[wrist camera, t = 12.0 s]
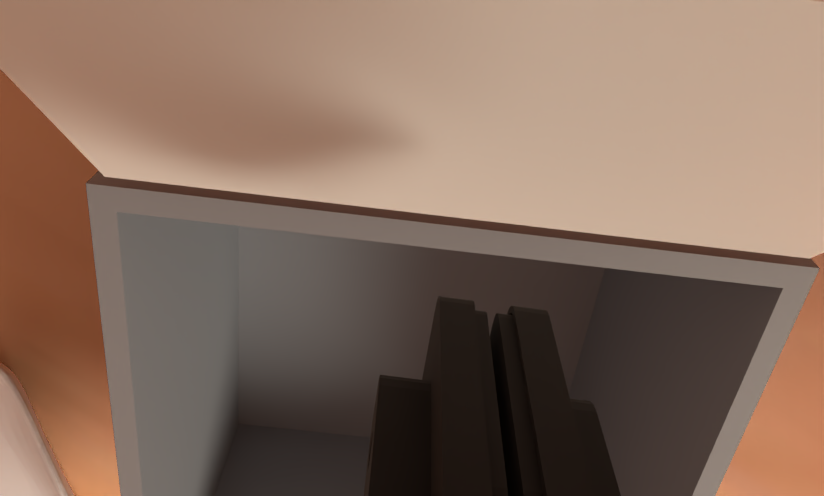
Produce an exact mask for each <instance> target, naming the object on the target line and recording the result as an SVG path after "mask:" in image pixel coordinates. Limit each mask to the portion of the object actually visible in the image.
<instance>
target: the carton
mask: <svg viewBox="0 0 824 496" xmlns="http://www.w3.org/2000/svg"><path fill="white" fill-rule="evenodd" d="M86 190H87V199H88V208H89V217H90V225H91V234H92V243H93V252H94V261H95V270H96V279H97V288H98V297H99V306H100V315H101V323H102V332H103V341H104V350H105V359H106V368H107V377H108V386H109V395H110V404H111V412H112V421H113V430H114V439H115V448H116V457H117V466H118V475H119V484H120V493H121V496H364V488H365V479H366V469H367V460H368V452H369V444H370V436H371V428H372V421H373V414H374V407H375V400H376V394H377V387H378V381H379V376H380V375H387V376H395V377H403V378H411V379H419V380H422V377H423V372H424V366H425V361H426V355H427V350H428V345H429V339H430V334H431V329H432V323H433V318H434V312H435V307H436V302H437V299H438V297H439V296H442V297H450V298H458V299H465V300H473V301H474V303H475V310H477V311H485V312H487V317H488V325H489V334H490V333H491V329H492V324H493V320H494V317H495V315H496V313H500V314H507V312H508V310H509V308H510V307H511V306H519V307H527V308H534V309H542V310H546V311H548V314H549V317H550V321H551V325H552V329H553V333H554V337H555V341H556V345H557V349H558V353H559V357H560V361H561V365H562V369H563V373H564V377H565V381H566V385H567V389H568V393H569V397H570V398H571V399H579V400H587V401H590V402H591V403H593V404H594V407H595V409H596V411H597V415H598V418H599V422H600V425H601V428H602V432H603V435H604V439H605V442H606V446H607V449H608V453H609V456H610V459H611V463H612V466H613V470H614V473H615V477H616V480H617V484H618V487H619V490H620V494H621V496H715V495H716V493H717V490H718V488H719V486H720V484H721V482H722V479H723V477H724V475H725V473H726V471H727V469H728V466H729V464H730V462H731V460H732V458H733V456H734V453H735V451H736V449H737V447H738V445H739V443H740V440H741V438H742V436H743V434H744V432H745V430H746V427H747V425H748V423H749V421H750V419H751V416H752V414H753V412H754V410H755V408H756V406H757V403H758V401H759V399H760V397H761V395H762V393H763V390H764V388H765V386H766V384H767V382H768V380H769V377H770V375H771V373H772V371H773V369H774V367H775V364H776V362H777V360H778V358H779V356H780V354H781V351H782V349H783V347H784V345H785V343H786V340H787V338H788V336H789V334H790V332H791V330H792V327H793V325H794V323H795V321H796V319H797V317H798V314H799V312H800V310H801V308H802V306H803V304H804V301H805V299H806V297H807V295H808V293H809V291H810V288H811V286H812V284H813V282H814V280H815V277H816V275H817V273H818V271H819V269H820V268H819V267H818V266H817V265H816V264H815V263H814V262H813V261H812V259H811V258H810V259H809V258H800V257H791V256H783V255H774V254H766V253H757V252H748V251H740V250H731V249H722V248H714V247H705V246H697V245H688V244H679V243H671V242H662V241H654V240H645V239H636V238H628V237H619V236H611V235H602V234H593V233H585V232H576V231H568V230H559V229H550V228H542V227H533V226H525V225H516V224H507V223H499V222H490V221H482V220H473V219H464V218H456V217H447V216H439V215H430V214H421V213H413V212H404V211H396V210H387V209H378V208H370V207H361V206H352V205H344V204H335V203H327V202H318V201H309V200H301V199H292V198H284V197H275V196H266V195H258V194H249V193H241V192H232V191H223V190H215V189H206V188H198V187H189V186H180V185H172V184H163V183H155V182H146V181H137V180H129V179H120V178H112V177H104V176H103V174H102V173H101V172H100V171H98V172H97V173H96V174H95V175H94V176H93V177H92V178H91V179H90V180H89V181H88V182H87V183H86Z"/></svg>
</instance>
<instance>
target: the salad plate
mask: <svg viewBox="0 0 824 496" xmlns="http://www.w3.org/2000/svg"><path fill="white" fill-rule="evenodd" d="M0 496H75V495H74V493H73V491H72V489H71V487H70V485H69V483H68V481H67V479H66V477H65V476H64V474H63V472H62V470H61V468H60V466H59V464H58V462H57V460H56V458H55V456H54V453H53V451H52V449H51V447H50V445H49V443H48V441H47V439H46V436H45V434H44V432H43V430H42V428H41V426H40V423H39V421H38V419H37V417H36V414H35V412H34V410H33V408H32V405H31V403H30V401H29V399H28V396H27V394H26V393H25V391H24V389H23V387H22V385H21V383H20V381H19V380H18V378H17V377H16V375H15V374H14V373H13V372H12V371H11V370H10V369H9V368H8V367H7V366H5V365H4V364H2V363H0Z"/></svg>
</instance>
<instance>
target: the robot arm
mask: <svg viewBox="0 0 824 496" xmlns="http://www.w3.org/2000/svg"><path fill="white" fill-rule="evenodd" d="M364 496H621V494H620V490H619V487H618V484H617V480H616V477H615V473H614V470H613V466H612V463H611V459H610V456H609V453H608V449H607V446H606V442H605V439H604V435H603V432H602V428H601V425H600V422H599V418H598V415H597V411H596V409H595V407H594V404H593V403H591V402H590V401H587V400H579V399H571V398H570V397H569V393H568V389H567V385H566V381H565V377H564V373H563V369H562V365H561V361H560V357H559V353H558V349H557V345H556V341H555V337H554V333H553V329H552V325H551V321H550V317H549V314H548V311H546V310H542V309H534V308H527V307H519V306H511V307H510V308H509V310H508V312H507V314H500V313H496V315H495V317H494V320H493V324H492V329H491V333H490V334H489V325H488V317H487V312H485V311H477V310H475V303H474V301H473V300H465V299H458V298H450V297H442V296H439V297H438V299H437V302H436V307H435V312H434V318H433V323H432V329H431V334H430V339H429V345H428V350H427V355H426V361H425V366H424V372H423V377H422V380H419V379H411V378H403V377H395V376H387V375H380V376H379V381H378V387H377V394H376V400H375V407H374V414H373V421H372V428H371V436H370V444H369V452H368V460H367V469H366V479H365V488H364Z"/></svg>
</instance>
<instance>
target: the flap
mask: <svg viewBox="0 0 824 496" xmlns="http://www.w3.org/2000/svg"><path fill="white" fill-rule="evenodd" d="M0 69H1V70H2V71H3V72H4V73H5V74H6V75H7V76H8V77H9V78H10V80H11V81H12V82H13V83H14V84H15V85H16V86H17V87H18V88H19V89H20V90H21V91H22V92H23V93H24V94H25V95H26V96H27V97H28V98H29V99H30V100H31V101H32V102H33V103H34V104H35V105H36V106H37V107H38V108H39V109H40V110H41V112H42V113H43V114H44V115H45V116H46V117H47V118H48V119H49V120H50V121H51V122H52V123H53V124H54V125H55V126H56V127H57V128H58V129H59V130H60V131H61V132H62V133H63V134H64V135H65V136H66V137H67V138H68V139H69V140H70V141H71V142H72V144H73V145H74V146H75V147H76V148H77V149H78V150H79V151H80V152H81V153H82V154H83V155H84V156H85V157H86V158H87V159H88V160H89V161H90V162H91V163H92V164H93V165H94V166H95V167H96V168H97V169H98V170H99V171H100V172H101V173H102V174H103V176H104V177H112V178H120V179H129V180H137V181H146V182H155V183H163V184H172V185H180V186H189V187H198V188H206V189H215V190H223V191H232V192H241V193H249V194H258V195H266V196H275V197H284V198H292V199H301V200H309V201H318V202H327V203H335V204H344V205H352V206H361V207H370V208H378V209H387V210H396V211H404V212H413V213H421V214H430V215H439V216H447V217H456V218H464V219H473V220H482V221H490V222H499V223H507V224H516V225H525V226H533V227H542V228H550V229H559V230H568V231H576V232H585V233H593V234H602V235H611V236H619V237H628V238H636V239H645V240H654V241H662V242H671V243H679V244H688V245H697V246H705V247H714V248H722V249H731V250H740V251H748V252H757V253H766V254H774V255H783V256H791V257H800V258H809V259H810V258H812V257H815V256H817V255H819V254H822V253H824V0H0Z"/></svg>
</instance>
